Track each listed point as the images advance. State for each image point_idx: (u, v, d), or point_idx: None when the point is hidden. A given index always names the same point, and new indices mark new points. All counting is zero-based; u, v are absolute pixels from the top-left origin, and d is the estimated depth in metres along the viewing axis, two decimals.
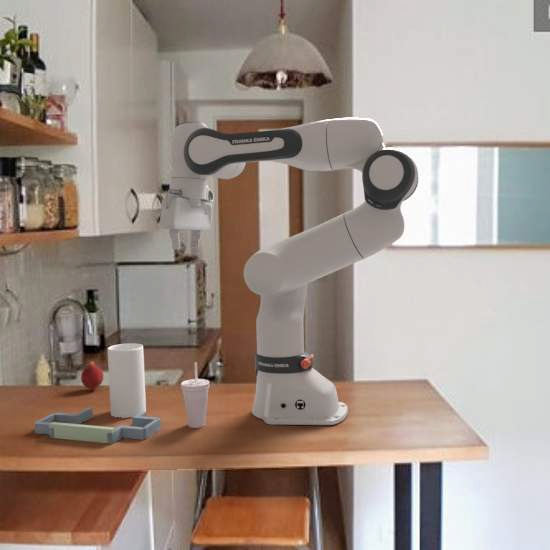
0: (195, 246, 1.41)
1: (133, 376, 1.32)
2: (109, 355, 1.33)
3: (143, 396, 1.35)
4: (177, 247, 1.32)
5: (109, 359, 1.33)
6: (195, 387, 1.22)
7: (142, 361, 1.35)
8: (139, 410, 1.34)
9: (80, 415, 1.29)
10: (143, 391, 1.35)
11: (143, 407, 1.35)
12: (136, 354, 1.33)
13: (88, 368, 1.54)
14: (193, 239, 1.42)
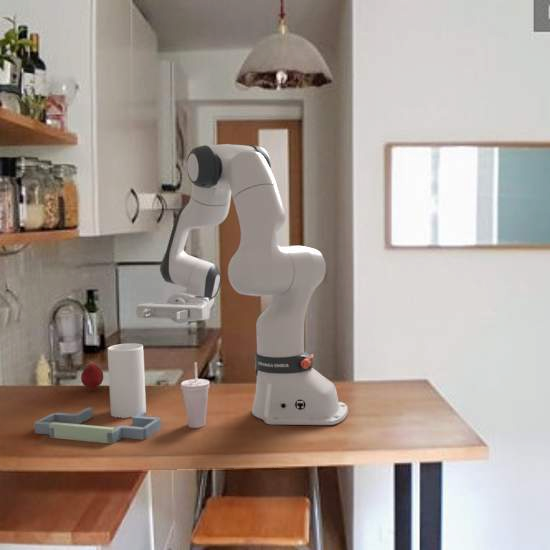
0: None
1: (133, 376, 1.32)
2: (109, 355, 1.33)
3: (143, 396, 1.35)
4: None
5: (109, 359, 1.33)
6: (195, 387, 1.22)
7: (142, 361, 1.35)
8: (139, 410, 1.34)
9: (80, 415, 1.29)
10: (143, 391, 1.35)
11: (143, 407, 1.35)
12: (136, 354, 1.33)
13: (88, 368, 1.54)
14: None
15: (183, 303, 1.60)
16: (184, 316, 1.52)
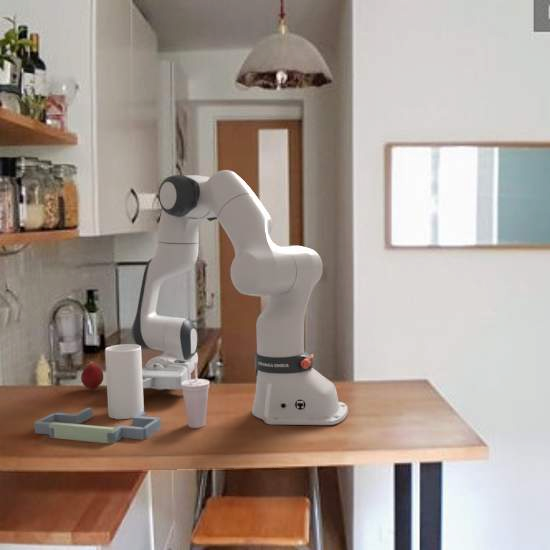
0: None
1: (131, 377, 1.31)
2: (107, 356, 1.32)
3: (141, 397, 1.34)
4: None
5: (107, 360, 1.32)
6: (195, 387, 1.22)
7: (140, 362, 1.34)
8: (137, 411, 1.33)
9: (80, 415, 1.29)
10: (141, 392, 1.34)
11: (141, 408, 1.34)
12: (134, 355, 1.32)
13: (88, 368, 1.54)
14: None
15: (161, 369, 1.48)
16: (147, 385, 1.41)
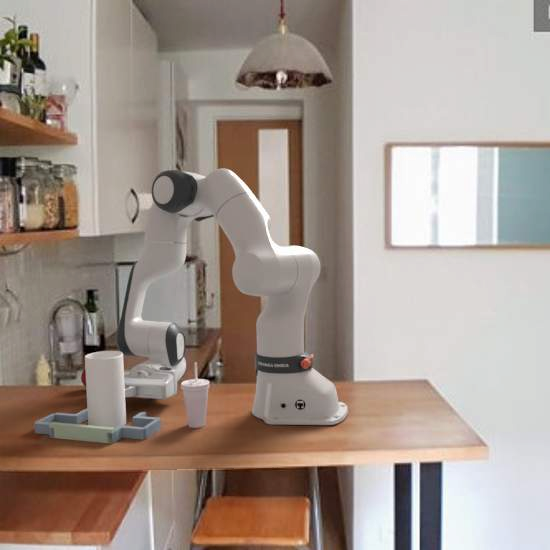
0: None
1: (112, 386, 1.24)
2: (86, 364, 1.24)
3: (123, 407, 1.27)
4: None
5: (86, 368, 1.24)
6: (195, 387, 1.22)
7: (122, 370, 1.27)
8: (118, 422, 1.26)
9: (80, 415, 1.29)
10: (123, 402, 1.27)
11: (123, 419, 1.27)
12: (115, 362, 1.24)
13: None
14: None
15: (146, 376, 1.40)
16: (130, 394, 1.33)
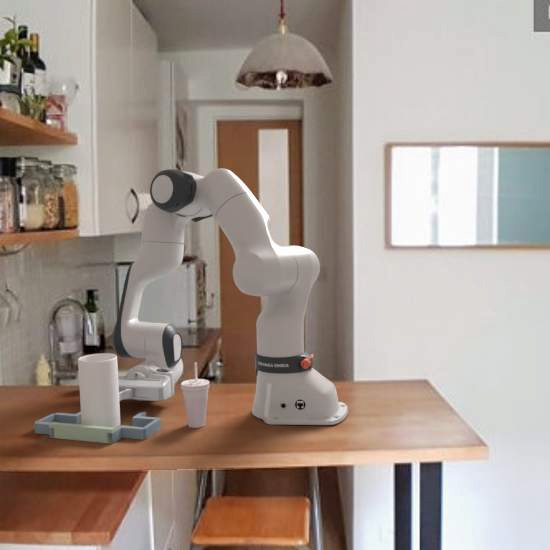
0: None
1: (105, 390, 1.22)
2: (79, 366, 1.22)
3: (117, 411, 1.25)
4: None
5: (79, 371, 1.22)
6: (195, 387, 1.22)
7: (116, 373, 1.24)
8: (112, 426, 1.23)
9: (80, 415, 1.29)
10: (117, 405, 1.25)
11: (117, 423, 1.24)
12: (109, 365, 1.22)
13: None
14: None
15: (143, 378, 1.39)
16: (127, 396, 1.32)
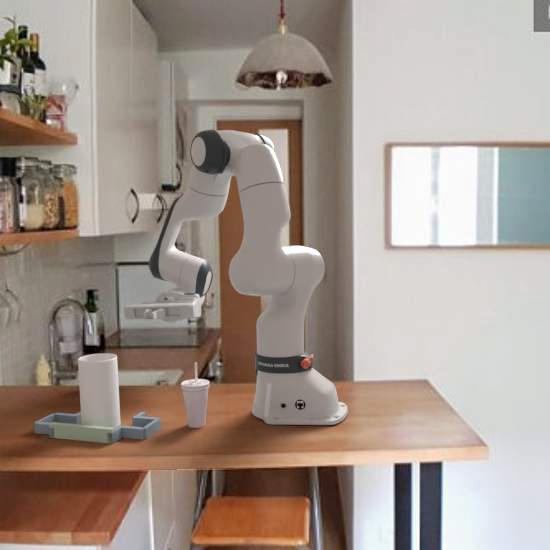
0: None
1: (105, 390, 1.22)
2: (79, 366, 1.22)
3: (117, 411, 1.25)
4: None
5: (79, 371, 1.22)
6: (195, 387, 1.22)
7: (116, 373, 1.24)
8: (112, 426, 1.23)
9: (80, 415, 1.29)
10: (117, 405, 1.25)
11: (117, 423, 1.24)
12: (109, 365, 1.22)
13: None
14: None
15: (173, 301, 1.53)
16: (161, 315, 1.46)
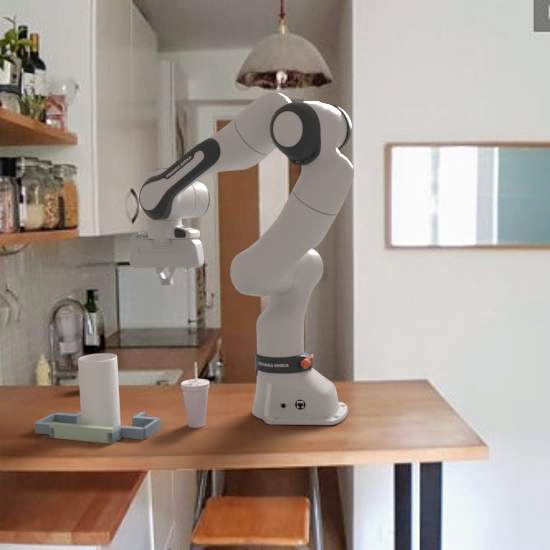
0: None
1: (105, 390, 1.22)
2: (79, 366, 1.22)
3: (117, 411, 1.25)
4: None
5: (79, 371, 1.22)
6: (195, 387, 1.22)
7: (116, 373, 1.24)
8: (112, 426, 1.23)
9: (80, 415, 1.29)
10: (117, 405, 1.25)
11: (117, 423, 1.24)
12: (109, 365, 1.22)
13: None
14: None
15: (169, 245, 1.46)
16: (175, 273, 1.48)
